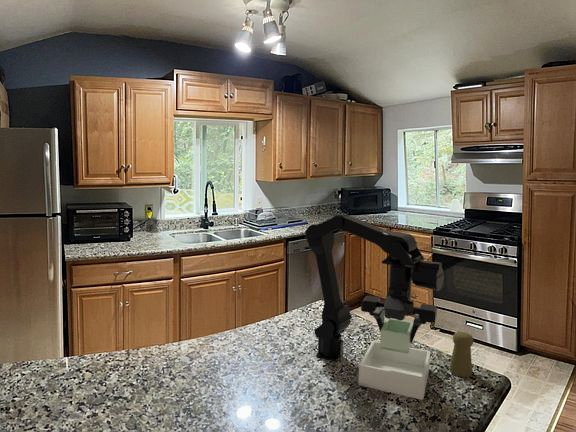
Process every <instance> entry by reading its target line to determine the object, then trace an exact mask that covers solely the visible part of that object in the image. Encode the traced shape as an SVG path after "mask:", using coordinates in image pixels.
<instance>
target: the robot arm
mask: <svg viewBox="0 0 576 432" xmlns="http://www.w3.org/2000/svg"><path fill="white" fill-rule="evenodd" d="M341 231H344V232H346V233H348V234H351V235H353V236H356V237H358V238H361V239H362V240H365V241H368V242H370V243H372V244H375V245H376V246H378V247H379V248H380V250H382V252H384V253H386V254H387V256H386V257H385V258H384V259H383V260H382V261H381V264H383V265H388V266H389V270H388V273H389V274H388V290H387V294H386V298H385V302H384V301H381V297H378V296H373V295H366V296H365V297H364V299H363V300H362V301H361V304H360V311H361V312H363V313H364V312H365V313H368V314H369V316H372V317H373V318H374V319H375V321H376V324H377V326H378V330H379V332H380V334H381V329H382V327H383V325H384V323H385V318H386V319H387V318H388V319H390V318H391V319H397V320H403V321H405V317H409V316H413V315H414V319H413V321H412V322H413V327H412V332H411V337H410V343H411V344H412V343H413V341H414V339H415V336H416V333H417V331H418V330H419V328H420V327H421V325H426V324H427V323H430V324H434V323H435V324H436V320H437V316H438V308H437V307H436V306H437V305H434V304H427V303H421V304H420V307H417V306H415V304H414V301H413V300H411V298H412V297H411V296H412V284H414V286H415V287H418V288H424V289H428V290H433V291H437V292H439V291H441V290H442V287H443V285H444V280H445V273H444V269H443V263H442V262H438V261H428V260H425V257H424V256H423V254H422V252H421V251H420V249H419V248H418V244H417V241H416V238H415V237H414V235H412V234H410V233H407V232H402V231H395V230H386V229H383V228H381V227H379V226H375V225H374V224H371V223H369V222H366V221H363V220H361V219H359V218H356V217H353V216H350V215H349V214H348V213H340V214H336V215H334V216H333V217H331V218H329V219H327V220H324V221H321V222H318V223H314V224H311V225H309V226H307V228H306V230H305V233H304V234H305V239H306V241H307V245H308V248H309V249H310V250H311V251H312V253H313V254H314V255H315V260H316V266H317V271H318V277H319V282H320V288H321V292H322V298H323V308H322V312H321V324H320V325H319V326H318V327H316V328H315V329H314V330H313V331H314V334H315V338H317V341H318V344H317V347H318V348H317V353H316V354H315V356H316V357H317V358H321V359H322V358H323V359H326V360H332V361H335V362H336V361H338V360H339V358H340V357H341V356H342V354H343V353H344V340H343V338H342V337H343V336H342V334H343V333H345V330H346V329H347V328H349V326H350V324H351V320H352V319H353V317H352V315H351V309H350V305H349V304H346V305H345V304H344V302H343V301H342V300H341V295H340V289H339V284H338V280H337V273H336V268H335V263H334V258H333V249H334V245H335V244H334V243H335V235H336V234H337V233H340V232H341Z"/></svg>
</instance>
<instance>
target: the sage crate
mask: <svg viewBox="0 0 576 432" xmlns="http://www.w3.org/2000/svg"><path fill="white" fill-rule="evenodd" d="M412 327H413V321H408V320H397V319H392V318H390V319H388V318H386V320H384V325H383V327H382V329H381V333H380V338H379V339H380V340H379V342H380V349H385V350H391V351H396V352H401V353H406V354H408V352H409V349H410V348H411V346H412V343H410V337H411V332H412Z"/></svg>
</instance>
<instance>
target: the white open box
mask: <svg viewBox="0 0 576 432" xmlns="http://www.w3.org/2000/svg"><path fill="white" fill-rule="evenodd" d="M430 360H431V350H426V349H421V348H414V347H410V349H409V352H408V354H406V353H401V352H396V351H391V350H385V349H380V341H377V340H372V341H371V343H370V345H369V347H368V348H367V350H366V352H365V354H364V355H363V357H362V359H361V361H360V362H359V364H358V383H357V384H358V386H361V387H365V388H370V389H373V390H377V391H381V392H382V391H383V392H387V393H390V392H391V394H396V395H399V396H404V397H408V398H412V399H416V400H421V401H423V400H424V399H425V398H424V397H425V392H426V387H427V382H428V379H429V373H430V364H431V363H430V362H431V361H430Z"/></svg>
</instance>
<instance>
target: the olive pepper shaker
mask: <svg viewBox="0 0 576 432" xmlns="http://www.w3.org/2000/svg"><path fill="white" fill-rule="evenodd" d="M452 342H453V344H454V345H453V349H452V354H451V357H450V358H451V359H450V362H449V368H448V371H449V372H450V373H451V374H453V375H454V376H457V377H461V378H468V377H472V376H473V364H472V349H471V348H472V346H473V345H474V337H473V336H472V335H471V334H470V333H468V332H465V331H457V332H455V333H454V334H453V335H452Z"/></svg>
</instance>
